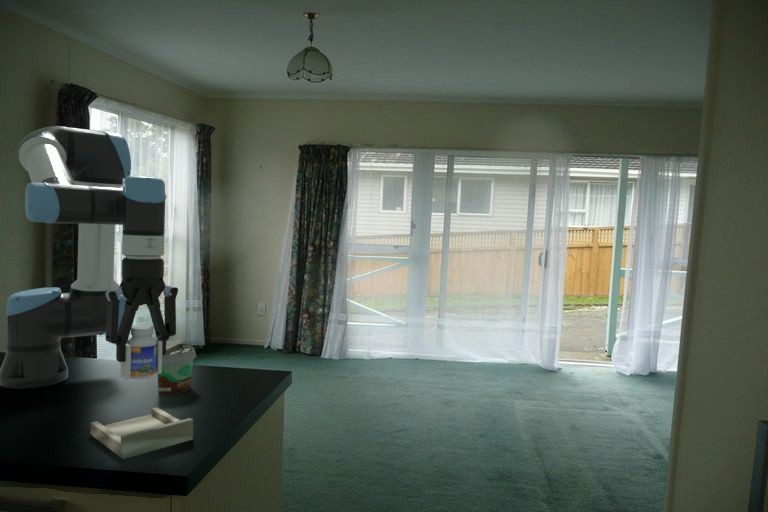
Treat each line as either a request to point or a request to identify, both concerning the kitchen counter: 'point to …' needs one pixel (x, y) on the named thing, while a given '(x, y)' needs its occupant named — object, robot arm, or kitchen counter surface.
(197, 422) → the kitchen counter surface
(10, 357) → the robot arm
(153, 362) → the pill bottle
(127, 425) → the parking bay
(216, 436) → the kitchen counter surface
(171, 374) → the food container
